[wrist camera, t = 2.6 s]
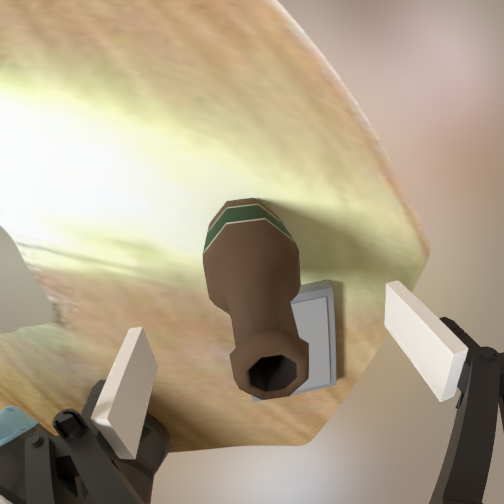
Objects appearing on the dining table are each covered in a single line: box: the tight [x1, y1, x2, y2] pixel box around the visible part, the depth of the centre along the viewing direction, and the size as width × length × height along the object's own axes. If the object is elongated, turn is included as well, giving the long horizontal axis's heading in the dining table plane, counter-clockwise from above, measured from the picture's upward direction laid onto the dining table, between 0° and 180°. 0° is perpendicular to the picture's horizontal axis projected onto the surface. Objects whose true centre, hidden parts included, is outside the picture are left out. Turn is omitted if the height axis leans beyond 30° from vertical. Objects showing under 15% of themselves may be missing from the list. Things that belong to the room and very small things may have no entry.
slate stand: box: [252, 280, 336, 402], centre depth 40 cm, size 12×16×2 cm
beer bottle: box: [203, 198, 309, 400], centre depth 24 cm, size 8×8×24 cm
